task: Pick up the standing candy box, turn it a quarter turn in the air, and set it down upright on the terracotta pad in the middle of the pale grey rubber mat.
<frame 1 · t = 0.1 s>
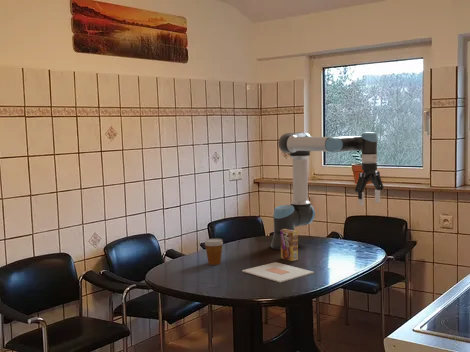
hand: (369, 203, 282), 28 cm above the table, tool pointing down, fingers open, 13 cm apart
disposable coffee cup: (214, 263, 281), on the table
mat: (277, 272, 261), on the table
candy box: (289, 259, 285), on the table
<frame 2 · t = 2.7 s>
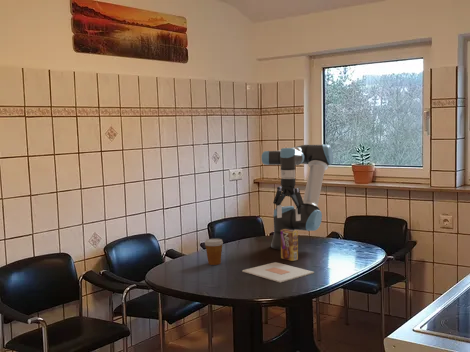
hand: (288, 219, 283), 21 cm above the table, tool pointing down, fingers open, 13 cm apart
nothing on the table moved.
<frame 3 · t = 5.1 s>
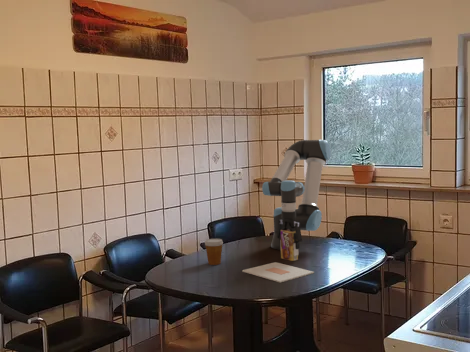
hand: (289, 253, 285), 3 cm above the table, tool pointing down, fingers closed on candy box, 9 cm apart
candy box: (289, 259, 285), on the table, touching gripper
everything else where it was.
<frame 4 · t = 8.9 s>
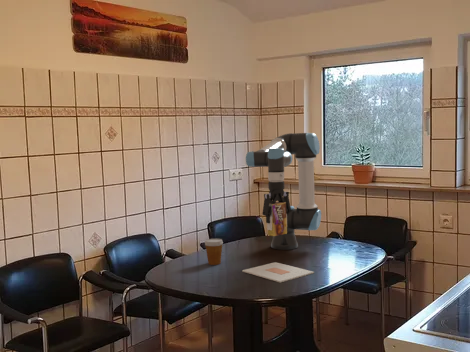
hand: (277, 228, 260), 21 cm above the table, tool pointing down, fingers closed on candy box, 9 cm apart
candy box: (277, 235, 260), point 18 cm above the table, touching gripper
everything else where it was.
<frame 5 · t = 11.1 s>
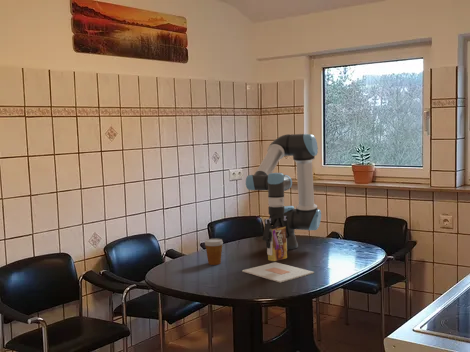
hand: (277, 253, 260), 9 cm above the table, tool pointing down, fingers closed on candy box, 9 cm apart
candy box: (277, 259, 260), point 6 cm above the table, touching gripper
everything else where it was.
when the fingers open (5 cm above the table, at t = 12.9 s): candy box drops 1 cm, resting on mat.
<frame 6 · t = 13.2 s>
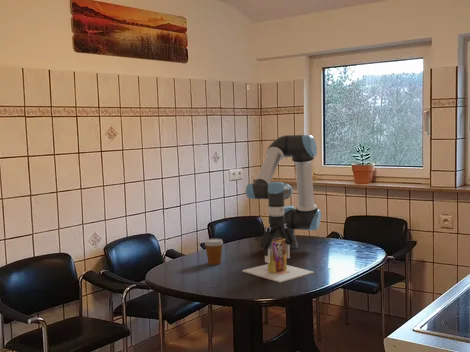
hand: (277, 260, 260), 6 cm above the table, tool pointing down, fingers open, 12 cm apart
candy box: (277, 271, 261), point 1 cm above the table, touching mat
everything else where it was.
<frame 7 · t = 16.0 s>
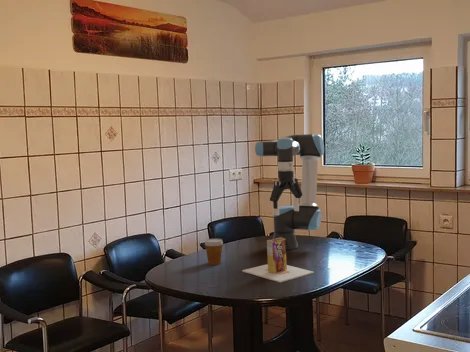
hand: (286, 213, 271), 26 cm above the table, tool pointing down, fingers open, 13 cm apart
nothing on the table moved.
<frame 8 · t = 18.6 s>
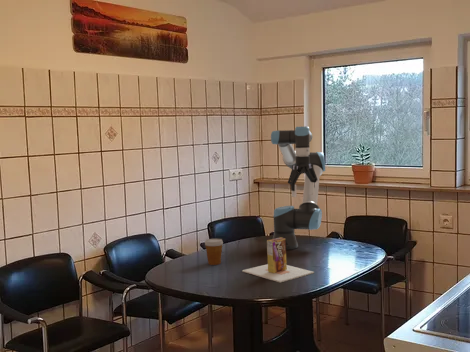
hand: (303, 195, 292), 32 cm above the table, tool pointing down, fingers open, 13 cm apart
nothing on the table moved.
at the end: candy box inside the target area on the mat (0.2 cm from its centre), point 0.6 cm above the mat's base; candy box tilted 0°; the gripper is holding nothing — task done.
